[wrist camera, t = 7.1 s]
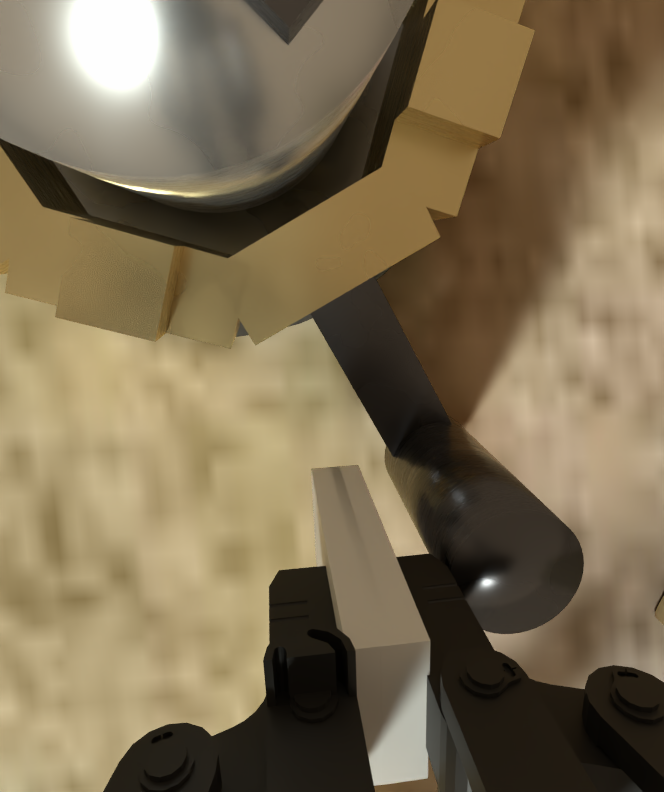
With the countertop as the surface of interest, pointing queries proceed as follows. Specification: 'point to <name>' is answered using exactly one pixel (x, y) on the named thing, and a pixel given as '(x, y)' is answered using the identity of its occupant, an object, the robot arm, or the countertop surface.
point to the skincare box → (660, 611)
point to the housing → (198, 106)
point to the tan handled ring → (339, 295)
